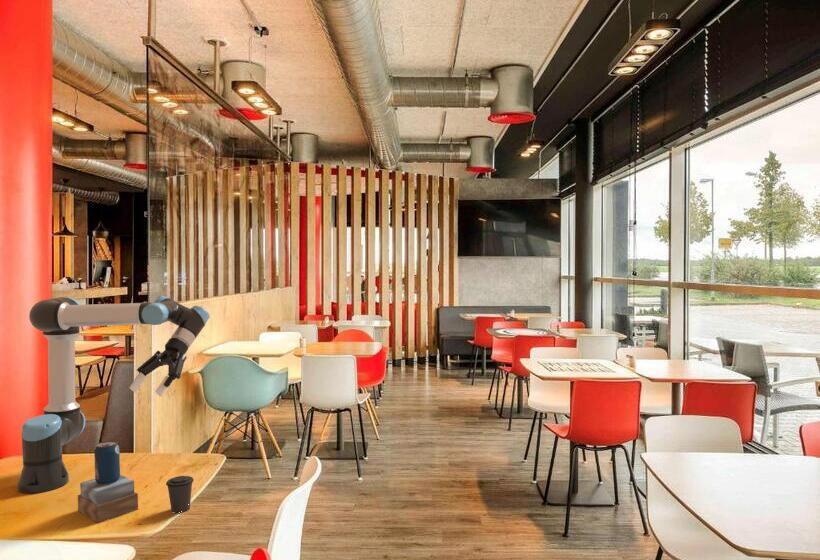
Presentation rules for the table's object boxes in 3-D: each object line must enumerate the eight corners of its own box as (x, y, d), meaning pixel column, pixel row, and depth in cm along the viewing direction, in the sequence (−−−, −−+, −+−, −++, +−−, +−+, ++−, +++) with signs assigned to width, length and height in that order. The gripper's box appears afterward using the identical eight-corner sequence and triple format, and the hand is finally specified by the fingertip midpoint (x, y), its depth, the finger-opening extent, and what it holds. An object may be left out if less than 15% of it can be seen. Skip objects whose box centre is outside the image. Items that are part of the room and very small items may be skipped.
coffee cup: (185, 516, 179) (184, 483, 178) (161, 514, 180) (160, 482, 180) (199, 505, 187) (198, 474, 186) (176, 503, 188) (175, 472, 188)
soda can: (125, 478, 186) (124, 440, 186) (110, 486, 180) (109, 447, 179) (105, 477, 188) (104, 439, 187) (90, 485, 181) (88, 446, 180)
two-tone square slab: (78, 511, 183) (77, 482, 183) (117, 498, 193) (116, 471, 193) (98, 523, 175) (97, 493, 174) (138, 509, 184) (137, 481, 184)
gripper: (209, 351, 211) (176, 401, 199) (163, 347, 223) (128, 394, 211) (197, 338, 207) (162, 389, 194) (150, 334, 219) (114, 382, 206)
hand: (144, 392), depth 202 cm, fingers open, 13 cm apart
